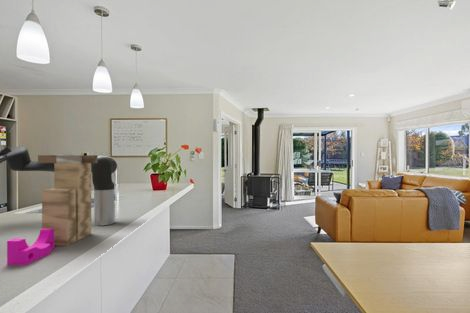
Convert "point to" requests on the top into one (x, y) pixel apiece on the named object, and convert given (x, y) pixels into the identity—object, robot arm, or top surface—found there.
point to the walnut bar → (54, 158)
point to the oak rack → (68, 200)
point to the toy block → (30, 248)
